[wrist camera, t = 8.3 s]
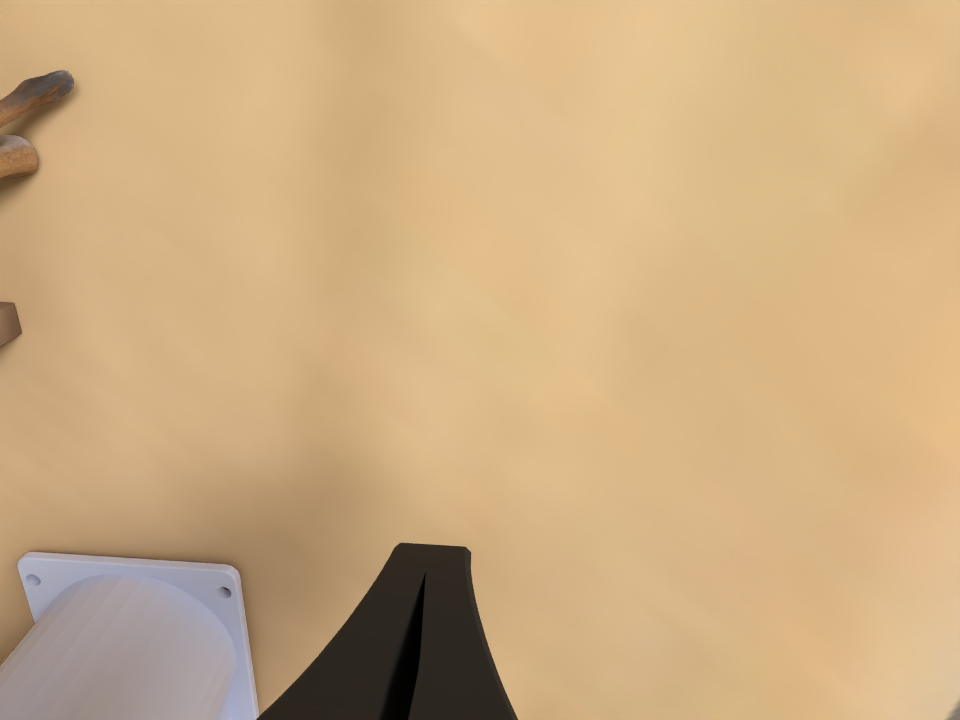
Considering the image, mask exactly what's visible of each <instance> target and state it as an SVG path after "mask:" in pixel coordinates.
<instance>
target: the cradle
mask: <svg viewBox="0 0 960 720" xmlns="http://www.w3.org/2000/svg"><path fill="white" fill-rule="evenodd" d="M21 333H22V332H21V328H20V324H19V320H18V316H17V312H16V308H15V304H14V303H8V302H0V346H1V345H3V344H4V343H6V342H8V341H9V340H11V339H13V338H14V337H16V336H18V335H19V334H21Z"/></svg>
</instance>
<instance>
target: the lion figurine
mask: <svg viewBox="0 0 960 720" xmlns="http://www.w3.org/2000/svg"><path fill="white" fill-rule="evenodd" d="M73 85H74V79H73V77H72V75H71V74H70V73H69V72H68V71H65V70H63V71H56V72H52V73H49V74H47V75H45V76H40V77H35V78H31V79H28V80H25V81H23V82H22V83H21V84H20V85H19V86H18V87H17V88H16V89H15V90H14V91H13V92H12V93H10V94H9V95H8V96H6V97H5V98H3V99H2V100H0V127H2V126H4V125H6V124H8V123H9V122H11V121H13V120H15V119H17V118H18V117H20V116H21V115H22V114H23V113H25V112H26V111H28V110H29V109H32V108H34V107H36V106H38V105H41V104H45V103H53V102H57V101H59V100H60V98H61V97H62V96H63V95H65V94H66V93H69V92H70V91H71V89H72V88H73ZM37 166H38V159H37V155H36V152H35V149H34V148H33V146H32V145H31V144H30V143H29V142H28V141H27V140H26V139H24V138H22V137H19V136H15V135H2V136H0V178H2V177H5V176H11V177H19V176H24V175H28V174H32V173H34V172H35V171H36V169H37Z"/></svg>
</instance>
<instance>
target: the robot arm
mask: <svg viewBox="0 0 960 720" xmlns="http://www.w3.org/2000/svg"><path fill="white" fill-rule="evenodd" d="M17 568H18V571H19V574H20V578H21V581H22V584H23V587H24V591H25V594H26V597H27V600H28V604H29V607H30V610H31V614H32V617H33V620H34V623H35V625H34V626H33V627H32V628H31V629H30V631H29V632H28V633H27V634H26V635H25V637H24V638H23V639H22V640H21V642H20V643H19V644H18V645H17V646H16V648H15V649H14V650H13V651H12V652H11V654H10V655H9V656H8V657H7V658H6V660H5V661H4V662H3V663H2V665H1V666H0V720H518V719H517V716H516V714H515V712H514V710H513V708H512V705H511V703H510V701H509V699H508V697H507V694H506V692H505V689H504V687H503V685H502V682H501V680H500V677H499V674H498V672H497V669H496V666H495V664H494V661H493V658H492V655H491V653H490V649H489V646H488V643H487V640H486V637H485V634H484V630H483V627H482V623H481V620H480V616H479V612H478V608H477V604H476V600H475V594H474V589H473V584H472V577H471V552H470V551H469V550H468V549H467V548H466V547H461V546H445V545H429V544H413V543H400V544H398V545H397V546H396V547H395V548H394V550H393V552H392V554H391V555H390V557H389V559H388V561H387V562H386V564H385V566H384V567H383V569H382V571H381V572H380V574H379V576H378V577H377V579H376V580H375V582H374V583H373V585H372V586H371V588H370V589H369V591H368V592H367V594H366V595H365V596H364V598H363V599H362V601H361V602H360V603H359V605H358V606H357V607H356V609H355V610H354V612H353V613H352V614H351V616H350V617H349V618H348V620H347V621H346V622H345V624H344V625H343V626H342V628H341V629H340V630H339V631H338V633H337V634H336V635H335V636H334V637H333V639H332V640H331V641H330V642H329V643H328V645H327V646H326V647H325V648H324V650H323V651H322V652H321V653H320V654H319V656H318V657H317V658H316V659H315V660H314V661H313V662H312V664H311V665H310V666H309V667H308V668H307V669H306V670H305V671H304V672H303V673H302V675H301V676H300V677H299V678H298V679H297V680H296V681H295V682H294V683H293V684H292V685H291V686H290V687H289V688H288V689H287V690H286V691H285V692H284V693H283V694H282V695H281V696H280V697H279V698H278V699H277V700H276V701H275V702H274V703H273V704H272V705H271V706H270V707H269V708H268V709H267V710H265V711H264V712H263V713H262V714H261V715H259V708H258V701H257V694H256V687H255V680H254V672H253V665H252V658H251V651H250V644H249V637H248V630H247V622H246V615H245V608H244V601H243V594H242V587H241V580H240V575H239V572H238V571H237V570H236V569H235V568H234V567H232V566H230V565H226V564H214V563H199V562H184V561H168V560H153V559H137V558H122V557H106V556H91V555H75V554H60V553H44V552H28V553H26V554H24V555H23V556H22V557H21V558H20V559H19V561H18V563H17ZM35 575H36V576H35ZM223 587H225V588H228V589H229V590H230V591H228V590H225V589H224V588H223Z"/></svg>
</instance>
